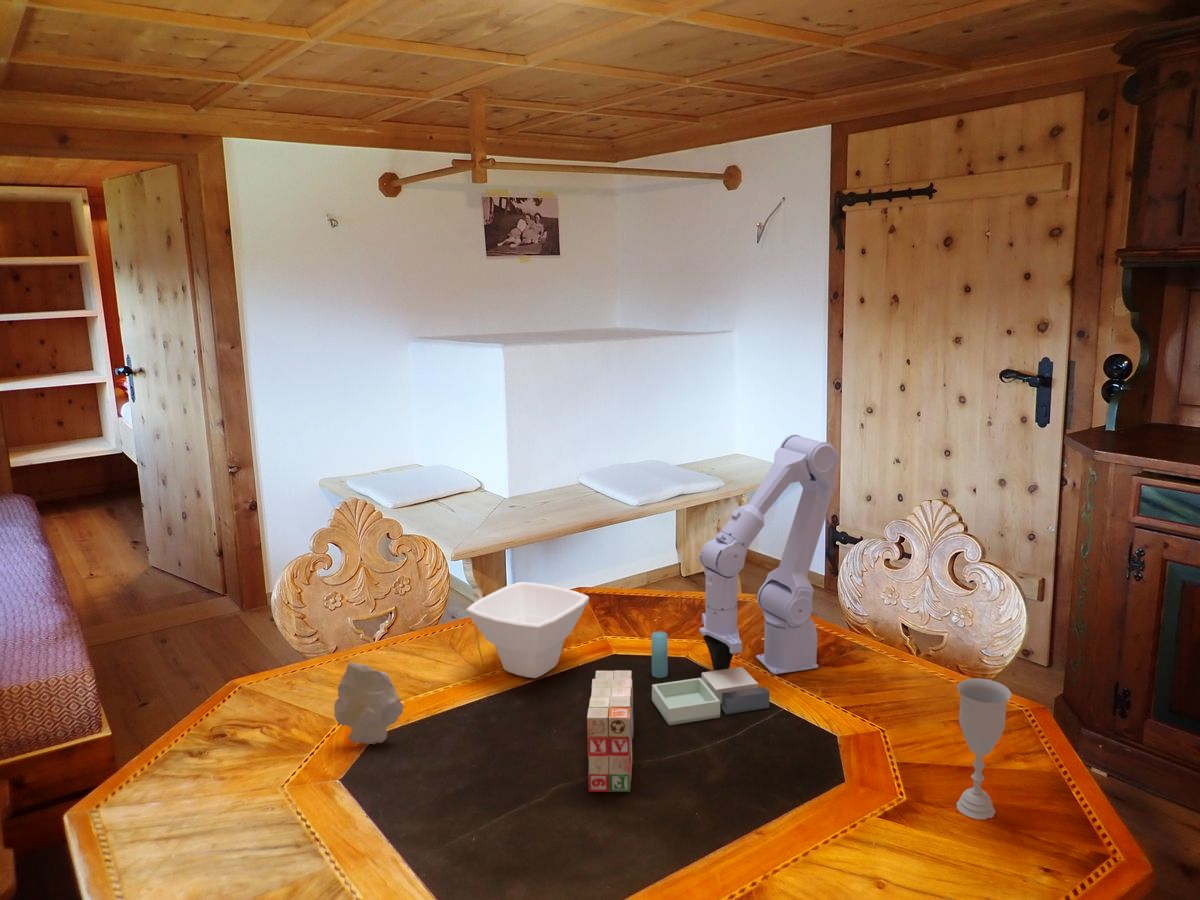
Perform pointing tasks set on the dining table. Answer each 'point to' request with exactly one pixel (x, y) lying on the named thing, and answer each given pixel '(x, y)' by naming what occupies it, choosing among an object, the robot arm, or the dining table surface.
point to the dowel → (659, 654)
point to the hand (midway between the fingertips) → (720, 673)
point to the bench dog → (745, 700)
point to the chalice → (980, 736)
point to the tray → (685, 701)
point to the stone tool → (367, 704)
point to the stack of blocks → (610, 732)
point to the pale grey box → (728, 681)
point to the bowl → (528, 624)
